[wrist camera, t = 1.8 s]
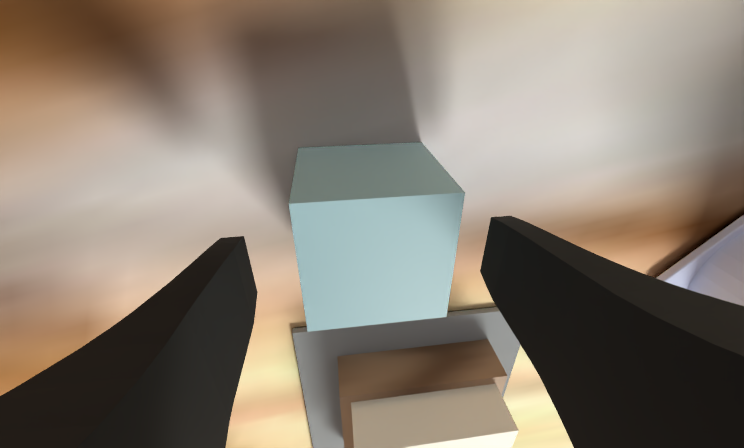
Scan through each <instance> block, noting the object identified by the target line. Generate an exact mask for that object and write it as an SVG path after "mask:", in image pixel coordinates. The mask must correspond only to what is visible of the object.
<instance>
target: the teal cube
mask: <svg viewBox="0 0 744 448" xmlns="http://www.w3.org/2000/svg"><path fill="white" fill-rule="evenodd" d="M464 196H465V192H464V191H463V190H462V188H461V187H460V186H459V185H458V184H457V183H456V182H455V180H454V179H453V178H452V177H451V176H450V175H449V173H448V172H447V171H446V170H445V169H444V168H443V167H442V165H441V164H440V163H439V162H438V161H437V160H436V158H435V157H434V156H433V155H432V154H431V153H430V152H429V150H428V149H427V148H426V147H425V146H424V145H423V143H422V142H413V143H392V144H370V145H348V146H327V147H305V148H298V153H297V159H296V165H295V171H294V176H293V182H292V188H291V193H290V199H289V209H290V216H291V223H292V230H293V236H294V243H295V250H296V257H297V263H298V270H299V277H300V284H301V290H302V297H303V304H304V311H305V317H306V324H307V331H308V332H310V331H319V330H329V329H338V328H348V327H357V326H366V325H376V324H385V323H395V322H404V321H413V320H423V319H432V318H442V317H447V310H448V303H449V296H450V290H451V283H452V276H453V270H454V263H455V256H456V249H457V243H458V236H459V229H460V223H461V216H462V209H463V203H464Z"/></svg>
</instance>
